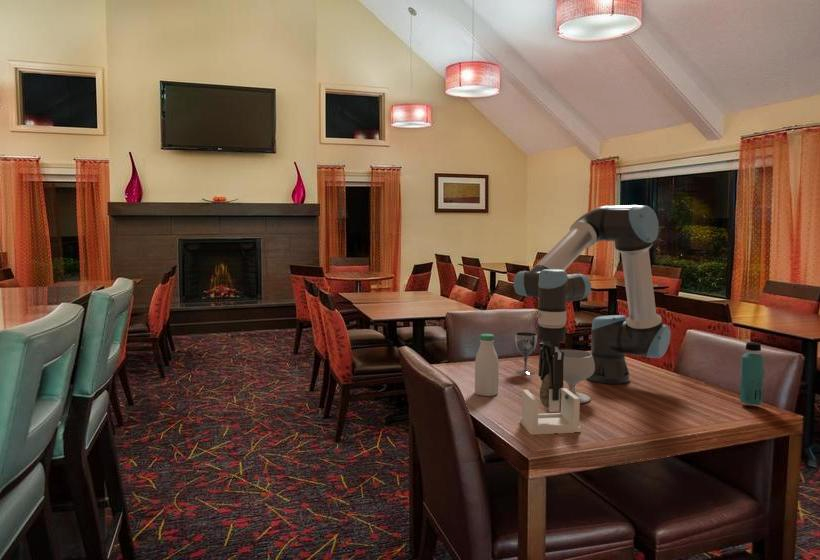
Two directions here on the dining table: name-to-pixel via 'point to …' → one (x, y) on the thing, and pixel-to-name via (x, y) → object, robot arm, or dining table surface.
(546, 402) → the decorative egg
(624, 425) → the dining table surface
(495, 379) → the milk bottle
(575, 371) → the chalice
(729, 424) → the dining table surface
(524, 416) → the holder
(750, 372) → the beverage bottle
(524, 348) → the wine glass
